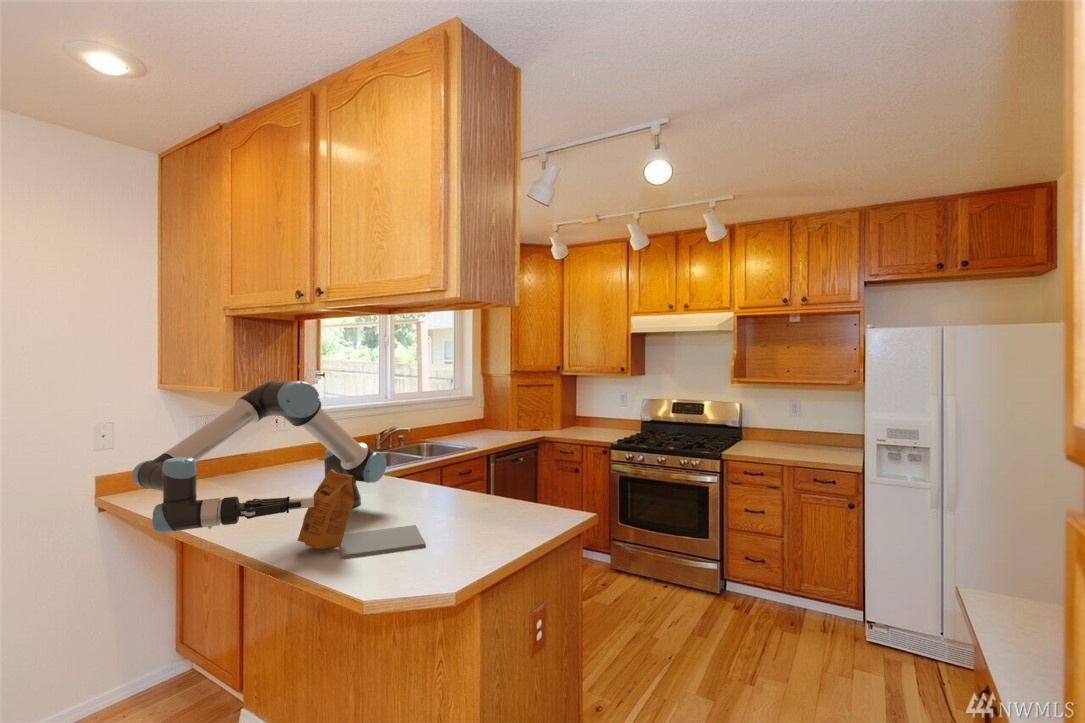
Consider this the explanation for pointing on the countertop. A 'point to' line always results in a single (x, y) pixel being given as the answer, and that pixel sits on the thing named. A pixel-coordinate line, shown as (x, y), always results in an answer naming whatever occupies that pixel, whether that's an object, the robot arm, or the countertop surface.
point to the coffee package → (328, 512)
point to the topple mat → (381, 541)
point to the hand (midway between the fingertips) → (313, 501)
